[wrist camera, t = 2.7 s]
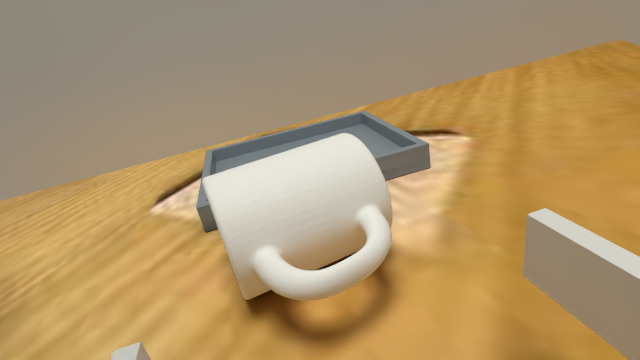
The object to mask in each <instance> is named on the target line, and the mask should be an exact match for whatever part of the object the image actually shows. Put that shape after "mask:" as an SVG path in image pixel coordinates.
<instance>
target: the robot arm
mask: <svg viewBox="0 0 640 360" xmlns="http://www.w3.org/2000/svg"><path fill="white" fill-rule="evenodd" d="M523 276H524V277H525V278H526V279H528V280H529V281H530V282H531V283H533V284H534V285H535V286H536V287H538V288H539V289H540V290H542V291H543V292H544V293H545V294H547V295H548V296H549V297H550V298H552V299H553V300H554V301H555V302H557V303H558V304H559V305H561V306H562V307H563V308H564V309H566V310H567V311H568V312H569V313H571V314H572V315H573V316H574V317H576V318H577V319H578V320H579V321H581V322H582V323H583V324H585V325H586V326H587V327H588V328H590V329H591V330H592V331H593V332H595V333H596V334H597V335H598V336H600V337H601V338H602V339H604V340H605V341H606V342H607V343H609V344H610V345H611V346H612V347H614V348H615V349H616V350H617V351H619V352H620V353H621V354H623V355H624V356H625V357H626V358H628V359H629V360H640V257H638V256H636V255H634V254H633V253H631V252H629V251H627V250H625V249H623V248H621V247H619V246H617V245H615V244H613V243H611V242H610V241H608V240H606V239H604V238H602V237H600V236H598V235H596V234H594V233H592V232H590V231H588V230H587V229H585V228H583V227H581V226H579V225H577V224H575V223H573V222H571V221H569V220H567V219H565V218H564V217H562V216H560V215H558V214H556V213H554V212H552V211H550V210H548V209H546V208H545V209H542V210H539V211H536V212H533V213H530V214H527V222H526V237H525V253H524V268H523ZM110 360H151V359H150V357H149V355H148V353H147V352H146V350H145V348H144V346H143V345H142V343H141V342H139V343H136V344H133V345H130V346H127V347H124V348H121V349H117V350H114V351H113V354H112V357H111V359H110Z"/></svg>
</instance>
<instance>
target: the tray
mask: <svg viewBox="0 0 640 360" xmlns="http://www.w3.org/2000/svg"><path fill="white" fill-rule="evenodd" d="M341 133H348V134H351V135H353V136H355V137H356V138H358V139H359V140H360V141H361V142H362V143H363V144H364V145H365V146H366V147H367V148H368V149H369V151H370V152H371V154H372V155H373V157H374V158H375V160H376V162H377V163H378V165H379V167H380V169H381V172H382V174H383V176H384V179H385V181H386V180H389V179H392V178H396V177H399V176H403V175H406V174H410V173H413V172H417V171H420V170H424V169H427V168H430V155H429V144H428V143H426V142H424V141H422V140H421V139H419V138H417V137H415V136H413V135H411V134H409V133H407V132H405V131H403V130H401V129H399V128H397V127H395V126H393V125H391V124H389V123H387V122H386V121H384V120H382V119H380V118H378V117H376V116H374V115H372V114H370V113H368V112H366V111H362V112H358V113H354V114H350V115H346V116H342V117H338V118H334V119H330V120H326V121H322V122H318V123H314V124H310V125H306V126H302V127H298V128H294V129H290V130H286V131H282V132H279V133H275V134H271V135H267V136H263V137H259V138H255V139H251V140H247V141H243V142H239V143H235V144H231V145H227V146H223V147H219V148H215V149H211V150H207V151H206V156H205V162H204V168H203V174H202V179H201V185H200V191H199V196H198V202H197V211H198V213H199V216H200V219H201V221H202V224H203V226H204V229H205V232H209V231H212V230H216V229H218V227H217V224H216V221H215V219H214V216H213V213H212V210H211V207H210V204H209V202H208V199H207V196H206V193H205V190H204V187H203V184H202V180H203V178H204V177H207V176H210V175H213V174H216V173H219V172H222V171H226V170H229V169H232V168H235V167H238V166H241V165H244V164H247V163H251V162H254V161H257V160H260V159H263V158H266V157H269V156H272V155H276V154H279V153H282V152H285V151H288V150H291V149H294V148H297V147H300V146H304V145H307V144H310V143H313V142H316V141H319V140H322V139H325V138H329V137H332V136H335V135H338V134H341Z"/></svg>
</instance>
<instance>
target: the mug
mask: <svg viewBox="0 0 640 360" xmlns="http://www.w3.org/2000/svg"><path fill="white" fill-rule="evenodd" d="M202 184H203V187H204V190H205V193H206V196H207V199H208V202H209V204H210V207H211V210H212V213H213V216H214V219H215V221H216V224H217V227H218V230H219V233H220V235H221V238H222V241H223V244H224V247H225V249H226V252H227V255H228V258H229V260H230V263H231V266H232V269H233V271H234V274H235V277H236V280H237V282H238V285H239V288H240V290H241V293H242V296H243V298H244V299H246V300H249V299H252V298H254V297H256V296H258V295H261V294H263V293H265V292H267V291H270V290H272V291H274V292H275V293H277V294H279V295H281V296H283V297H286V298H289V299H294V300H318V299H323V298H327V297H330V296H334V295H336V294H339V293H341V292H344V291H346V290H348V289H350V288H352V287H353V286H355V285H357V284H358V283H360V282H361V281H363V280H364V279H366V278H367V277H368V276H369V275H371V274H372V273H373V272H374V271H375V270H376V269H377V268H378V267H379V266H380V265H381V263H382V262H383V261H384V259H385V258H386V256H387V254H388V252H389V250H390V247H391V242H392V234H391V226H392V205H391V199H390V195H389V191H388V188H387V184H386V182H385V179H384V176H383V174H382V172H381V169H380V167H379V165H378V163H377V162H376V160H375V158H374V157H373V155H372V154H371V152H370V151H369V149H368V148H367V147H366V146H365V145H364V144H363V143H362V142H361V141H360V140H359V139H358V138H356V137H355V136H353V135H351V134H348V133H341V134H338V135H335V136H332V137H329V138H325V139H322V140H319V141H316V142H313V143H310V144H307V145H304V146H300V147H297V148H294V149H291V150H288V151H285V152H282V153H279V154H276V155H272V156H269V157H266V158H263V159H260V160H257V161H254V162H251V163H247V164H244V165H241V166H238V167H235V168H232V169H229V170H226V171H222V172H219V173H216V174H213V175H210V176H207V177H204V178H203V180H202ZM357 251H358V252H357ZM355 252H357V253H355ZM353 253H355V254H354V255H352V256H350V257H348V258H347V259H345V260H343V261H341V262H339V263H337V264H335V265H333V266H330V267H328V268H325V269H321V270H317V269H319V268H321V267H324V266H326V265H328V264H330V263H333V262H335V261H337V260H339V259H342V258H344V257H346V256H348V255H351V254H353Z"/></svg>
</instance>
